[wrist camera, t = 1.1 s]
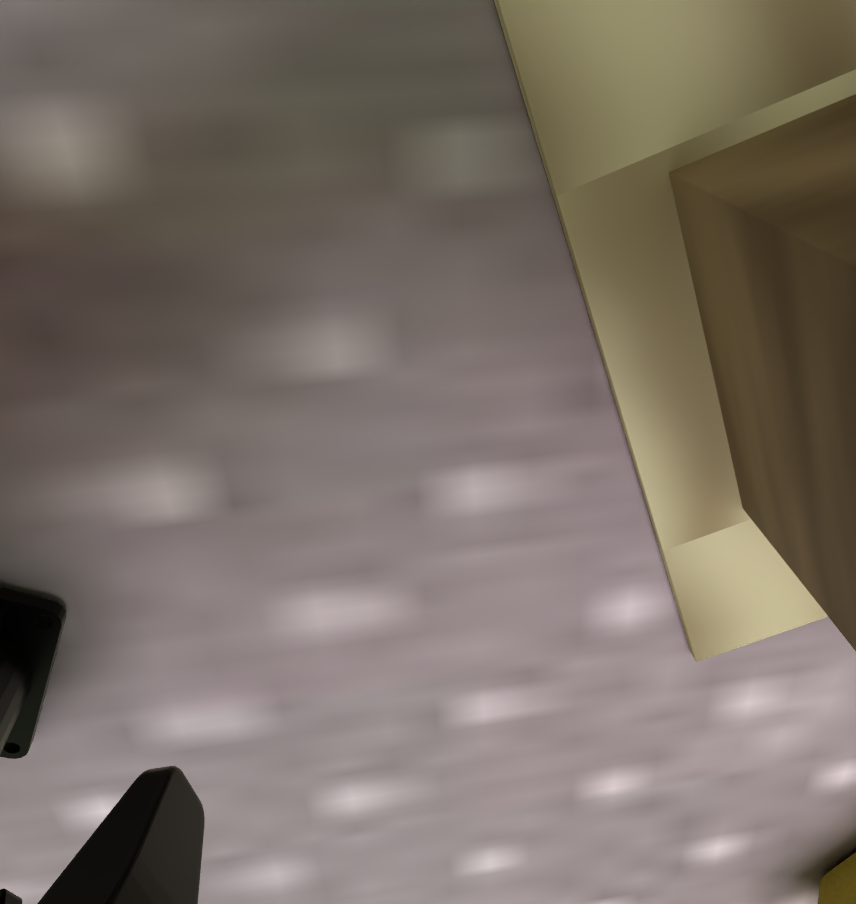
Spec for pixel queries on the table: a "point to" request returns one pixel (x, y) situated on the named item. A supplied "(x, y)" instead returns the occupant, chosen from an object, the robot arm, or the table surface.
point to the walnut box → (785, 334)
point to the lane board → (673, 246)
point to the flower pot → (839, 884)
